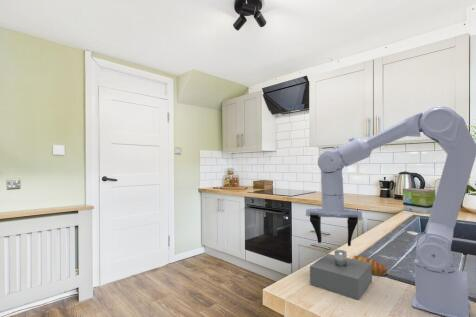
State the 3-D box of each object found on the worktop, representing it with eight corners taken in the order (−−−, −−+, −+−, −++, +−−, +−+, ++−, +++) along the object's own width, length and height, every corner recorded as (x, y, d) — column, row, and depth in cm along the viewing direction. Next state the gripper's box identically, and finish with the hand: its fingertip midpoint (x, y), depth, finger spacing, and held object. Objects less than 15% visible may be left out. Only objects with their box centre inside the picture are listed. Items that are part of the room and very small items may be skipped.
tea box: (402, 210, 169) (401, 188, 170) (412, 209, 173) (411, 187, 174) (426, 214, 155) (425, 190, 156) (436, 212, 159) (435, 189, 160)
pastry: (388, 271, 75) (388, 258, 75) (385, 280, 70) (384, 266, 70) (354, 264, 81) (354, 252, 81) (349, 271, 76) (349, 259, 76)
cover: (371, 281, 69) (370, 250, 69) (358, 300, 60) (357, 264, 60) (327, 269, 77) (327, 242, 77) (310, 284, 68) (309, 253, 68)
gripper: (360, 193, 71) (362, 242, 71) (308, 192, 77) (309, 237, 77) (361, 196, 65) (363, 249, 64) (304, 195, 71) (305, 243, 70)
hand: (334, 243), depth 70 cm, fingers open, 7 cm apart
